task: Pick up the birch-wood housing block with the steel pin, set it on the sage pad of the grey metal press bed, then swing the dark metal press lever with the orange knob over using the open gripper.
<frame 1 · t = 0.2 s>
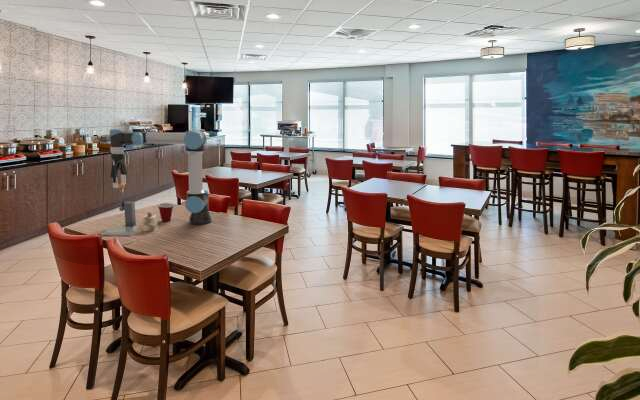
hand: (119, 185, 266), 28 cm above the table, tool pointing down, fingers open, 13 cm apart
plastic cup: (166, 221, 289), on the table
press lever: (121, 196, 270), point 20 cm above the table, hinge at 0.0°
press: (121, 232, 259), on the table
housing: (150, 229, 266), on the table
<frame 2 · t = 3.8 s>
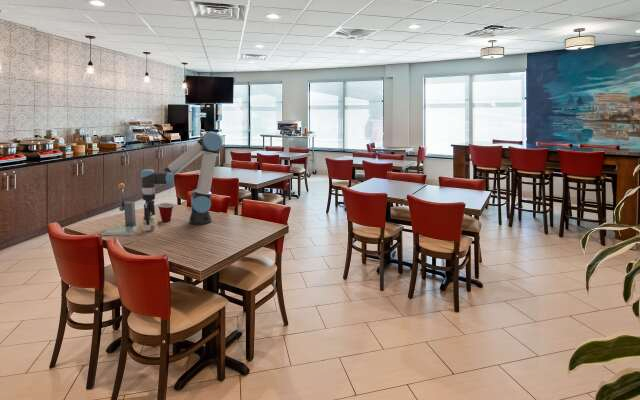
hand: (150, 227, 266), 1 cm above the table, tool pointing down, fingers closed on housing, 7 cm apart
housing: (150, 229, 266), on the table, touching gripper
everything else where it was.
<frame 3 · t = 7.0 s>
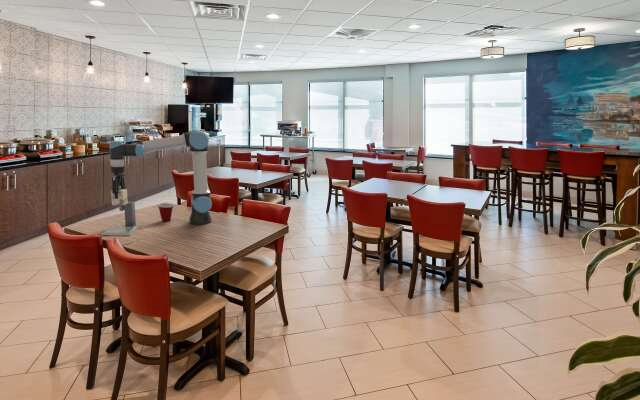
hand: (119, 202, 255), 19 cm above the table, tool pointing down, fingers closed on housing, 7 cm apart
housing: (119, 204, 256), point 18 cm above the table, touching gripper
everything else where it was.
when the fingers open (4 cm above the table, at t = 10.2 s): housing drops 1 cm, resting on press.
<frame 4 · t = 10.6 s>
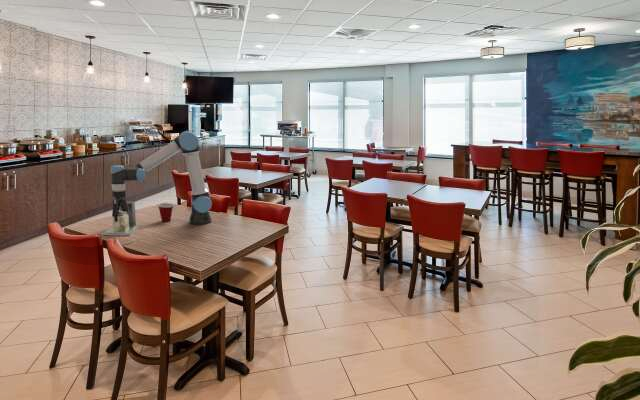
hand: (121, 223, 258), 5 cm above the table, tool pointing down, fingers open, 12 cm apart
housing: (121, 229, 259), point 2 cm above the table, touching press
everything else where it was.
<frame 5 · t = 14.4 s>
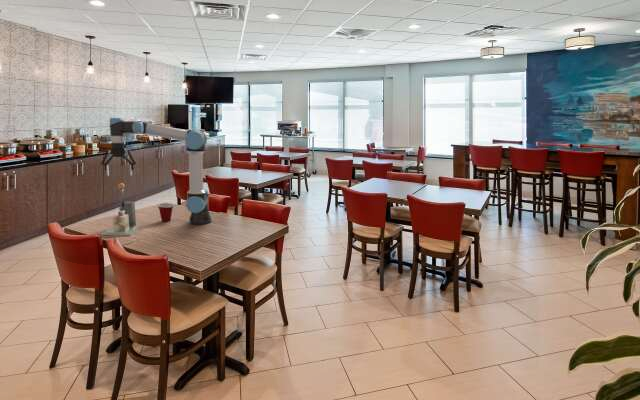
hand: (119, 175, 264), 35 cm above the table, tool pointing down, fingers open, 13 cm apart
nothing on the table moved.
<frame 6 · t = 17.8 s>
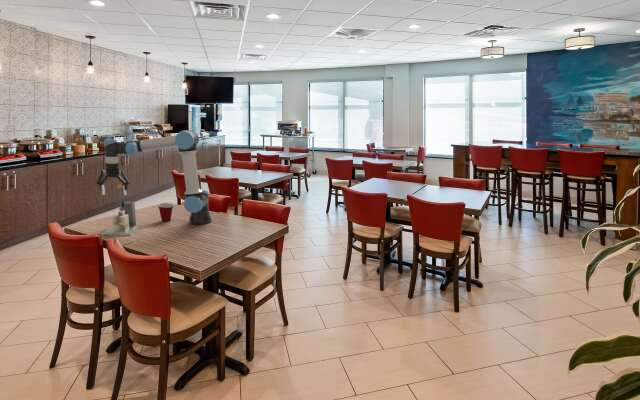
hand: (114, 194, 270), 21 cm above the table, tool pointing down, fingers open, 13 cm apart
press lever: (121, 196, 270), point 20 cm above the table, hinge at 0.9°, touching gripper
everything else where it was.
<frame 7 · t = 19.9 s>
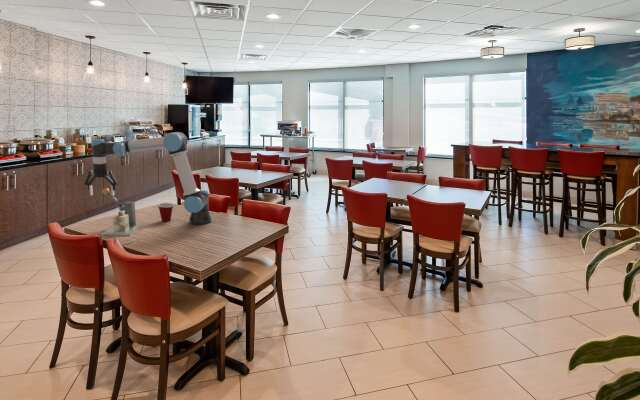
hand: (102, 195, 269), 21 cm above the table, tool pointing down, fingers open, 13 cm apart
press lever: (114, 199, 270), point 18 cm above the table, hinge at 40.5°, touching gripper
everything else where it was.
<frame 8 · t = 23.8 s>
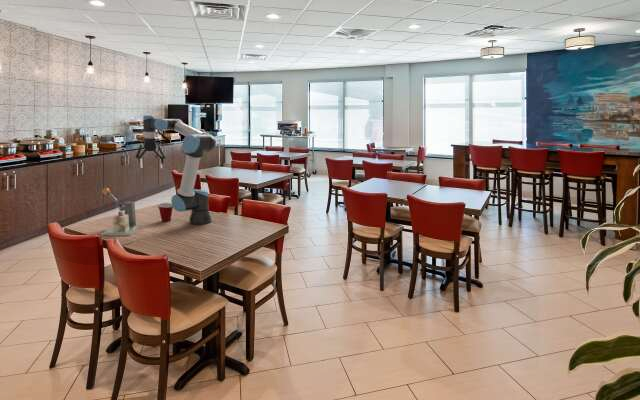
hand: (151, 168, 289), 37 cm above the table, tool pointing down, fingers open, 13 cm apart
press lever: (114, 199, 270), point 18 cm above the table, hinge at 40.5°
everything else where it was.
at the end: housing inside the target area on the press (0.0 cm from its centre), point 1.7 cm above the press's base; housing tilted 0°; press lever at +40° (first picture: +0°) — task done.
